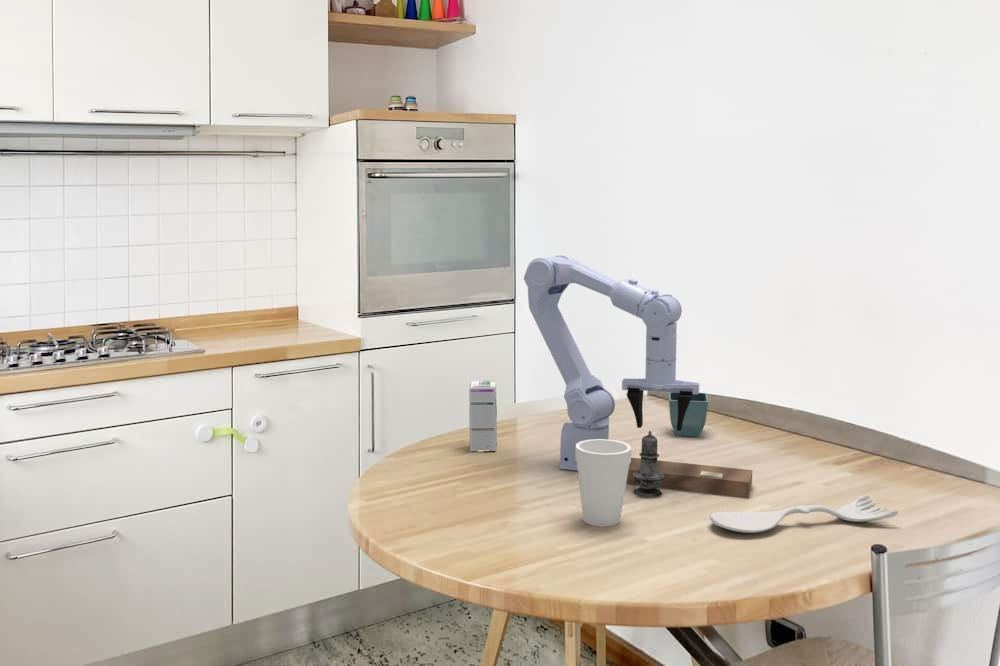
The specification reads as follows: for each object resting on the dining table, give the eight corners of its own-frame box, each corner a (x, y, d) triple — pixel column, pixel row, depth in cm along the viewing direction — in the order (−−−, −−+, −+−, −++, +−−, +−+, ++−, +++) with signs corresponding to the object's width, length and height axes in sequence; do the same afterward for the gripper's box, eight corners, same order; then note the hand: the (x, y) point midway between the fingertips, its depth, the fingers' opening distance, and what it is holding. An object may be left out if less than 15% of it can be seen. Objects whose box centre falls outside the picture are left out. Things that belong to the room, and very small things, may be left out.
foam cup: (564, 514, 163) (566, 442, 161) (611, 507, 167) (613, 437, 165) (590, 533, 155) (592, 457, 153) (639, 525, 158) (641, 451, 156)
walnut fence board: (620, 483, 180) (620, 466, 180) (628, 471, 188) (628, 455, 187) (748, 498, 173) (749, 480, 172) (751, 485, 180) (752, 468, 180)
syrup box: (496, 452, 201) (496, 386, 198) (468, 452, 201) (469, 385, 198) (496, 445, 206) (497, 380, 204) (469, 444, 206) (470, 380, 204)
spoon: (898, 528, 159) (899, 509, 158) (723, 542, 152) (724, 522, 151) (866, 510, 167) (868, 492, 167) (700, 523, 161) (701, 503, 160)
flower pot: (667, 438, 213) (669, 399, 212) (667, 428, 222) (668, 391, 220) (706, 440, 212) (708, 401, 210) (705, 430, 220) (706, 393, 219)
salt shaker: (663, 499, 172) (665, 435, 170) (630, 496, 173) (633, 433, 171) (664, 489, 177) (666, 427, 175) (633, 486, 178) (634, 425, 177)
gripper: (619, 360, 178) (618, 430, 180) (696, 364, 173) (694, 436, 175) (626, 354, 184) (625, 421, 186) (701, 358, 180) (699, 427, 182)
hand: (659, 428), depth 181 cm, fingers open, 7 cm apart
